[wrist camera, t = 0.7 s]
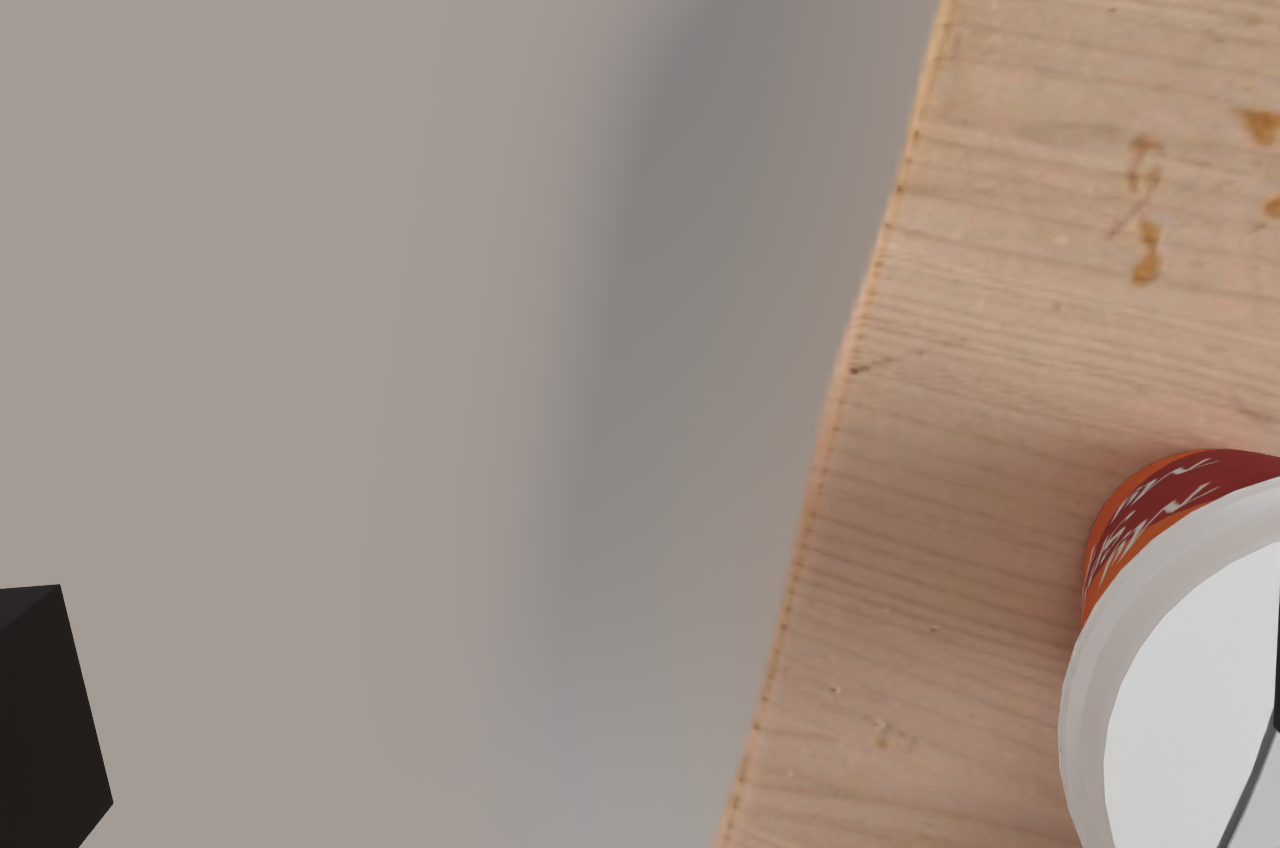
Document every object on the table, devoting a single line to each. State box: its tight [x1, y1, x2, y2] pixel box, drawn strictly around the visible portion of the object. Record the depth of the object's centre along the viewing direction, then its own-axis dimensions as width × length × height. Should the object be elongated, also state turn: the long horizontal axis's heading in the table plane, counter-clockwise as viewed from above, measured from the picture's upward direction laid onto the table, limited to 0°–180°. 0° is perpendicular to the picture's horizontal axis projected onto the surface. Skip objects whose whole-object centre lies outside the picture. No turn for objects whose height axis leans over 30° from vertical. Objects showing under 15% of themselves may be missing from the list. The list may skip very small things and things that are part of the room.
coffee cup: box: [1057, 449, 1280, 848], centre depth 23 cm, size 8×8×15 cm
